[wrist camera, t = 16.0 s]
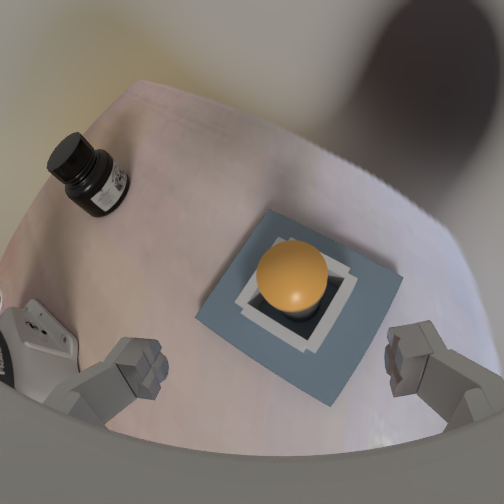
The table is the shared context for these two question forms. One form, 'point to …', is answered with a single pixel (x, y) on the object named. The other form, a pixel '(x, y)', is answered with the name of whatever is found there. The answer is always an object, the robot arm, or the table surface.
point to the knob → (293, 279)
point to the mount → (309, 332)
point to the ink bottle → (88, 175)
